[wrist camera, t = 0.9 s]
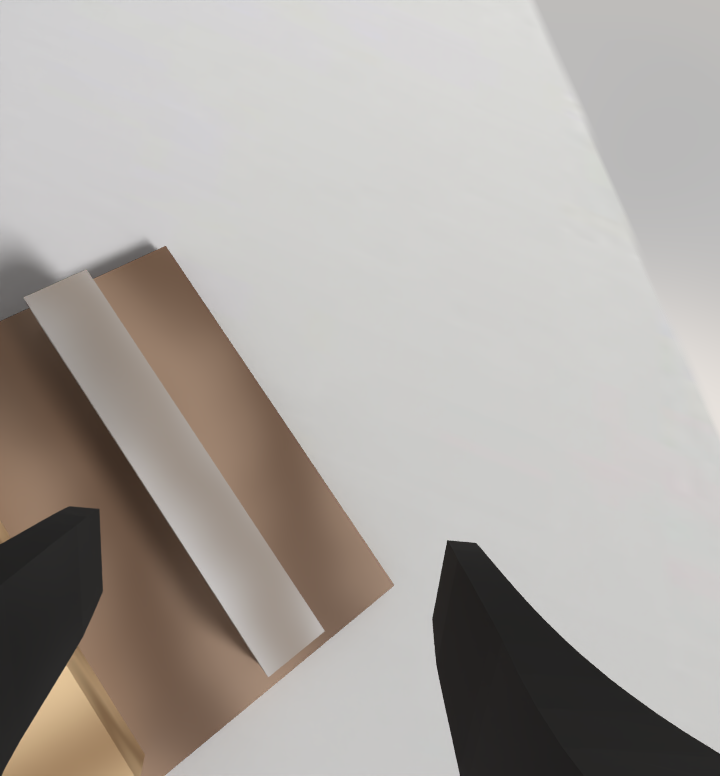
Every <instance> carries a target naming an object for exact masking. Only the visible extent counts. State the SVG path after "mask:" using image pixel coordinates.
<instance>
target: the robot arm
mask: <svg viewBox="0 0 720 776" xmlns="http://www.w3.org/2000/svg"><path fill="white" fill-rule="evenodd" d="M102 592H103V579H102V556H101V533H100V510H99V509H96V508H85V507H74V506H69V507H67V508H64V509H62V510H60V511H58V512H57V513H55V514H53V515H51V516H49V517H47V518H46V519H44V520H42V521H40V522H38V523H37V524H35V525H33V526H31V527H30V528H28V529H26V530H24V531H23V532H21V533H19V534H18V535H16V536H14V537H12V538H10V539H9V540H7V541H5V542H3V543H1V544H0V776H2V774H3V772H4V770H5V768H6V766H7V764H8V762H9V760H10V758H11V757H12V755H13V753H14V751H15V750H16V748H17V746H18V744H19V742H20V741H21V739H22V737H23V736H24V734H25V732H26V731H27V729H28V727H29V726H30V724H31V722H32V721H33V719H34V718H35V716H36V714H37V713H38V711H39V709H40V708H41V706H42V704H43V703H44V701H45V699H46V698H47V696H48V695H49V693H50V691H51V690H52V688H53V686H54V685H55V683H56V681H57V680H58V678H59V676H60V675H61V673H62V671H63V670H64V668H65V666H66V665H67V663H68V661H69V660H70V658H71V656H72V655H73V653H74V651H75V650H76V648H77V646H78V645H79V643H80V641H81V639H82V638H83V636H84V634H85V631H86V629H87V627H88V625H89V623H90V621H91V618H92V616H93V614H94V611H95V609H96V607H97V604H98V602H99V600H100V597H101V595H102ZM432 620H433V633H434V645H435V655H436V665H437V670H438V675H439V680H440V685H441V689H442V694H443V699H444V704H445V708H446V713H447V717H448V722H449V727H450V731H451V736H452V740H453V745H454V750H455V754H456V759H457V763H458V768H459V773H460V776H720V754H719V753H718V752H716V751H714V750H713V749H711V748H710V747H708V746H706V745H705V744H703V743H702V742H700V741H698V740H697V739H695V738H693V737H692V736H690V735H689V734H687V733H685V732H684V731H682V730H681V729H679V728H678V727H676V726H675V725H673V724H672V723H670V722H669V721H667V720H666V719H664V718H663V717H661V716H660V715H658V714H657V713H655V712H654V711H653V710H651V709H650V708H648V707H647V706H646V705H644V704H643V703H641V702H640V701H639V700H637V699H636V698H635V697H633V696H632V695H630V694H629V693H628V692H626V691H625V690H624V689H622V688H621V687H620V686H618V685H617V684H616V683H615V682H613V681H612V680H611V679H609V678H608V677H607V676H606V675H605V674H603V673H602V672H601V671H600V670H599V669H597V668H596V667H595V666H594V665H593V664H591V663H590V662H589V661H588V660H587V659H586V658H584V657H583V656H582V655H581V654H580V653H579V652H577V651H576V650H575V649H574V648H573V647H572V646H571V645H570V644H569V643H568V642H567V641H565V640H564V639H563V638H562V637H561V636H560V635H559V634H558V633H557V632H556V631H555V630H554V629H553V628H552V627H551V626H550V625H549V624H548V623H547V622H546V621H545V620H544V619H543V618H542V617H541V616H540V615H539V614H538V613H537V612H536V611H535V610H534V609H533V607H532V606H531V605H530V604H529V603H528V602H527V601H526V600H525V599H524V598H523V597H522V596H521V594H520V593H519V592H518V591H517V590H516V589H515V588H514V587H513V585H512V584H511V583H510V582H509V581H508V580H507V579H506V577H505V576H504V575H503V574H502V573H501V572H500V570H499V569H498V568H497V567H496V566H495V564H494V563H493V562H492V561H491V560H490V559H489V557H488V556H487V555H486V554H485V553H484V551H483V550H482V549H481V548H480V547H479V546H478V545H477V544H476V543H470V542H459V541H448V540H447V545H446V550H445V555H444V561H443V566H442V571H441V576H440V582H439V587H438V592H437V598H436V603H435V608H434V613H433V619H432Z"/></svg>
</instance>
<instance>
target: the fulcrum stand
mask: <svg viewBox="0 0 720 776" xmlns="http://www.w3.org/2000/svg"><path fill="white" fill-rule="evenodd" d="M23 298H24V299H25V301H26V303H27V304H28V306H29V307H30V308H28V309H26V310H24V311H22V312H19V313H17V314H15V315H13V316H11V317H8V318H6V319H4V320H2V321H0V521H1V523H2V524H3V526H4V528H5V529H6V531H7V532H8V534H9V536H10V537H11V538H12V537H14V536H16V535H18V534H19V533H21V532H23V531H24V530H26V529H28V528H30V527H31V526H33V525H35V524H37V523H38V522H40V521H42V520H44V519H46V518H47V517H49V516H51V515H53V514H55V513H57V512H58V511H60V510H62V509H64V508H67V507H69V506H74V507H85V508H96V509H99V510H100V533H101V556H102V579H103V592H102V595H101V597H100V600H99V602H98V604H97V607H96V609H95V611H94V614H93V616H92V618H91V621H90V623H89V625H88V627H87V629H86V631H85V634H84V636H83V638H82V639H81V641H80V643H79V645H78V647H79V649H80V650H81V652H82V654H83V655H84V657H85V659H86V660H87V662H88V663H89V665H90V667H91V668H92V670H93V671H94V673H95V675H96V676H97V678H98V680H99V681H100V683H101V684H102V686H103V688H104V689H105V691H106V692H107V694H108V696H109V697H110V699H111V701H112V702H113V704H114V705H115V707H116V709H117V710H118V712H119V713H120V715H121V717H122V718H123V720H124V722H125V723H126V725H127V726H128V728H129V730H130V731H131V733H132V734H133V736H134V738H135V739H136V741H137V743H138V744H139V746H140V747H141V749H142V751H143V752H144V754H145V757H144V762H143V766H142V771H141V776H165V775H166V774H167V773H168V772H169V771H171V770H172V769H173V768H174V767H175V766H177V765H178V764H179V763H180V762H181V761H183V760H184V759H185V758H186V757H188V756H189V755H190V754H191V753H192V752H194V751H195V750H196V749H197V748H198V747H200V746H201V745H202V744H203V743H204V742H206V741H207V740H208V739H209V738H210V737H212V736H213V735H214V734H215V733H217V732H218V731H219V730H220V729H221V728H223V727H224V726H225V725H226V724H227V723H229V722H230V721H231V720H232V719H233V718H235V717H236V716H237V715H238V714H239V713H241V712H242V711H243V710H244V709H246V708H247V707H248V706H249V705H250V704H252V703H253V702H254V701H255V700H256V699H258V698H259V697H260V696H261V695H262V694H264V693H265V692H266V691H267V690H268V689H270V688H271V687H272V686H273V685H275V684H276V683H277V682H278V681H279V680H281V679H282V678H283V677H284V676H285V675H287V674H288V673H289V672H290V671H291V670H293V669H294V668H295V667H296V666H297V665H299V664H300V663H301V662H302V661H304V660H305V659H306V658H307V657H308V656H310V655H311V654H312V653H313V652H314V651H316V650H317V649H318V648H319V647H320V646H322V645H323V644H324V643H325V642H327V641H328V640H329V639H330V638H331V637H333V636H334V635H335V634H336V633H337V632H339V631H340V630H341V629H342V628H343V627H345V626H346V625H347V624H348V623H349V622H351V621H352V620H353V619H354V618H356V617H357V616H358V615H359V614H360V613H362V612H363V611H364V610H365V609H366V608H368V607H369V606H370V605H371V604H372V603H374V602H375V601H376V600H377V599H378V598H380V597H381V596H382V595H383V594H385V593H386V592H387V591H388V590H389V589H391V588H392V587H393V586H394V584H393V583H392V581H391V580H390V578H389V577H388V575H387V574H386V572H385V571H384V569H383V568H382V566H381V565H380V563H379V562H378V560H377V559H376V557H375V556H374V554H373V553H372V551H371V550H370V548H369V547H368V545H367V544H366V543H365V541H364V540H363V538H362V537H361V535H360V534H359V532H358V531H357V529H356V528H355V526H354V525H353V523H352V522H351V520H350V519H349V517H348V516H347V514H346V513H345V511H344V510H343V508H342V507H341V505H340V504H339V502H338V501H337V499H336V498H335V496H334V495H333V494H332V492H331V491H330V489H329V488H328V486H327V485H326V483H325V482H324V480H323V479H322V477H321V476H320V474H319V473H318V471H317V470H316V468H315V467H314V465H313V464H312V462H311V461H310V459H309V458H308V456H307V455H306V453H305V452H304V450H303V449H302V447H301V446H300V445H299V443H298V442H297V440H296V439H295V437H294V436H293V434H292V433H291V431H290V430H289V428H288V427H287V425H286V424H285V422H284V421H283V419H282V418H281V416H280V415H279V413H278V412H277V410H276V409H275V407H274V406H273V404H272V403H271V401H270V400H269V399H268V397H267V396H266V394H265V393H264V391H263V390H262V388H261V387H260V385H259V384H258V382H257V381H256V379H255V378H254V376H253V375H252V373H251V372H250V370H249V369H248V367H247V366H246V364H245V363H244V361H243V360H242V358H241V357H240V355H239V354H238V352H237V351H236V350H235V348H234V347H233V345H232V344H231V342H230V341H229V339H228V338H227V336H226V335H225V333H224V332H223V330H222V329H221V327H220V326H219V324H218V323H217V321H216V320H215V318H214V317H213V315H212V314H211V312H210V311H209V309H208V308H207V306H206V305H205V303H204V302H203V301H202V299H201V298H200V296H199V295H198V293H197V292H196V290H195V289H194V287H193V286H192V284H191V283H190V281H189V280H188V278H187V277H186V275H185V274H184V272H183V271H182V269H181V268H180V266H179V265H178V263H177V262H176V260H175V259H174V257H173V256H172V255H171V253H170V252H169V250H168V249H167V247H166V246H164V247H162V248H160V249H158V250H155V251H153V252H151V253H149V254H147V255H145V256H142V257H140V258H138V259H136V260H134V261H131V262H129V263H127V264H125V265H123V266H120V267H118V268H116V269H114V270H112V271H109V272H107V273H105V274H103V275H101V276H98V277H96V278H94V279H93V278H92V277H91V275H90V274H89V272H88V271H87V269H86V270H84V271H81V272H79V273H77V274H75V275H72V276H70V277H68V278H66V279H64V280H61V281H59V282H57V283H55V284H52V285H50V286H48V287H46V288H43V289H41V290H39V291H37V292H34V293H32V294H30V295H28V296H25V297H23Z"/></svg>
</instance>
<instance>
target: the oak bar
mask: <svg viewBox="0 0 720 776" xmlns="http://www.w3.org/2000/svg"><path fill="white" fill-rule="evenodd" d="M10 538H11V537H10V536H9V534H8V532H7V531H6V529H5V528H4V526H3V524H2V523H1V521H0V544H1V543H3V542H5V541H7V540H9V539H10ZM144 757H145V754H144V752H143V751H142V749H141V747H140V746H139V744H138V743H137V741H136V739H135V738H134V736H133V734H132V733H131V731H130V730H129V728H128V726H127V725H126V723H125V722H124V720H123V718H122V717H121V715H120V713H119V712H118V710H117V709H116V707H115V705H114V704H113V702H112V701H111V699H110V697H109V696H108V694H107V692H106V691H105V689H104V688H103V686H102V684H101V683H100V681H99V680H98V678H97V676H96V675H95V673H94V671H93V670H92V668H91V667H90V665H89V663H88V662H87V660H86V659H85V657H84V655H83V654H82V652H81V650H80V649H79V647H78V646H77V648H76V650H75V651H74V653H73V655H72V656H71V658H70V660H69V661H68V663H67V665H66V666H65V668H64V670H63V671H62V673H61V675H60V676H59V678H58V680H57V681H56V683H55V685H54V686H53V688H52V690H51V691H50V693H49V695H48V696H47V698H46V699H45V701H44V703H43V704H42V706H41V708H40V709H39V711H38V713H37V714H36V716H35V718H34V719H33V721H32V722H31V724H30V726H29V727H28V729H27V731H26V732H25V734H24V736H23V737H22V739H21V741H20V742H19V744H18V746H17V748H16V750H15V751H14V753H13V755H12V757H11V758H10V760H9V762H8V764H7V766H6V768H5V770H4V772H3V774H2V776H141V771H142V766H143V762H144Z"/></svg>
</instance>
